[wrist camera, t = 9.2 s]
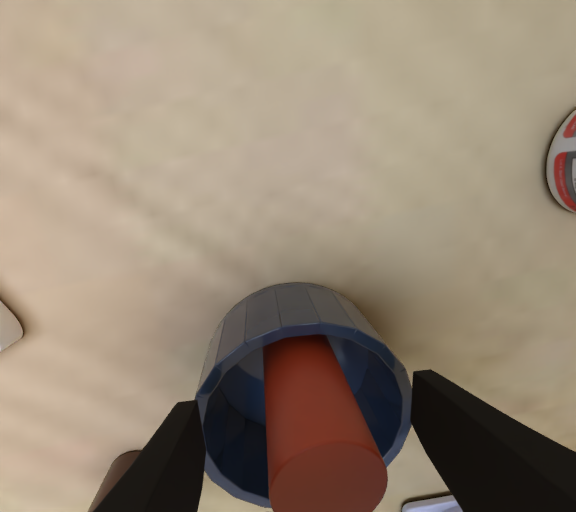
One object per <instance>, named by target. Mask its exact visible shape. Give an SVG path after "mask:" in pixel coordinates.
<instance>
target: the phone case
mask: <svg viewBox="0 0 576 512" xmlns="http://www.w3.org/2000/svg"><path fill="white" fill-rule="evenodd" d="M22 336H23V330H22V327H21V325H20V323H19V321H18V320H17V319H16V317H15V316H14V315H13V314H12V313H11V312H10V311H9V309H8V308H7V307H6V306H5V305H4V304H3V303H2V302H1V301H0V352H1V351H3V350H4V349H6V348H7V347H9V346H10V345H12V344H13V343H15V342H16V341H17V340H19V339H20V338H22Z"/></svg>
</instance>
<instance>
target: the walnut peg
mask: <svg viewBox="0 0 576 512" xmlns="http://www.w3.org/2000/svg"><path fill="white" fill-rule="evenodd" d="M140 452H141V451H133V452H128V453H125V454H123V455H121V456H119V457H118V458H117V459H116V460H115V461H114V462H113V463H112V465H111V467H110V469H109V470H108V472H107V474H106V476H105V478H104V480H103V482H102V484H101V486H100V488H99V490H98V492H97V494H96V496H95V498H94V500H93V502H92V504H91V506H90V508H89V510H88V512H93V510H94V509H95V508H96V507H97V506H98V504H99V503H100V502H101V501H102V500H103V498H104V497H105V496H106V495H107V494H108V492H109V491H110V490H111V489H112V488H113V486H114V485H115V484H116V483H117V482H118V480H119V479H120V478H121V477H122V476H123V474H124V473H125V472H126V470H127V469H128V468H129V467H130V465H131V464H132V463H133V461H134V460H135V459H136V458H137V456H138V455H139V454H140Z"/></svg>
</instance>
